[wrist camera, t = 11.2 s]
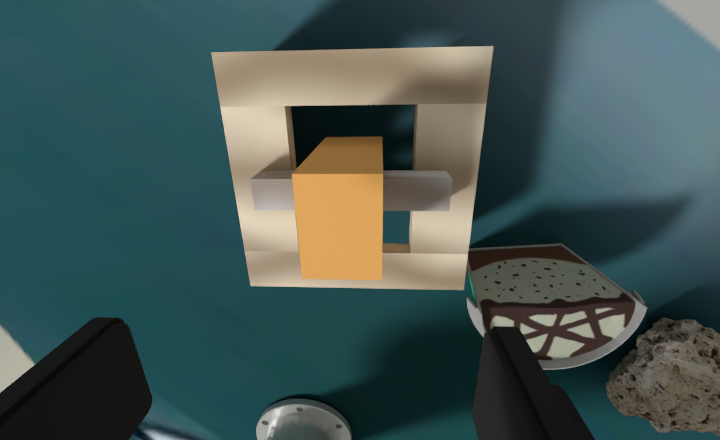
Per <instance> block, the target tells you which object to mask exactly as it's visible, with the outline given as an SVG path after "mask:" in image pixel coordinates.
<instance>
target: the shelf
mask: <svg viewBox="0 0 720 440" xmlns="http://www.w3.org/2000/svg"><path fill="white" fill-rule="evenodd" d="M493 47H494V46H470V47H426V48H383V49H339V50H295V51H252V52H211V54H212V60H213V66H214V72H215V77H216V83H217V89H218V95H219V101H220V107H221V113H222V119H223V125H224V131H225V137H226V143H227V149H228V155H229V160H230V166H231V172H232V178H233V184H234V190H235V196H236V202H237V208H238V214H239V220H240V226H241V232H242V238H243V243H244V249H245V255H246V261H247V267H248V273H249V279H250V285H251V286H280V287H331V288H383V289H434V290H464V283H465V275H466V266H467V258H468V250H469V242H470V234H471V226H472V218H473V209H474V201H475V193H476V185H477V177H478V169H479V161H480V153H481V144H482V136H483V128H484V120H485V112H486V104H487V96H488V87H489V79H490V71H491V63H492V55H493ZM407 104H415V120H414V142H413V164H412V170H383V211H410V231H409V244H388V243H382V280H335V279H302V273H301V263H300V252H299V242H298V232H297V222H296V212H295V202H294V191H293V181H292V173H293V172H294V171H295V170H296V169H297V167H296V156H295V145H294V134H293V123H292V112H291V106H329V105H407Z"/></svg>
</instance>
